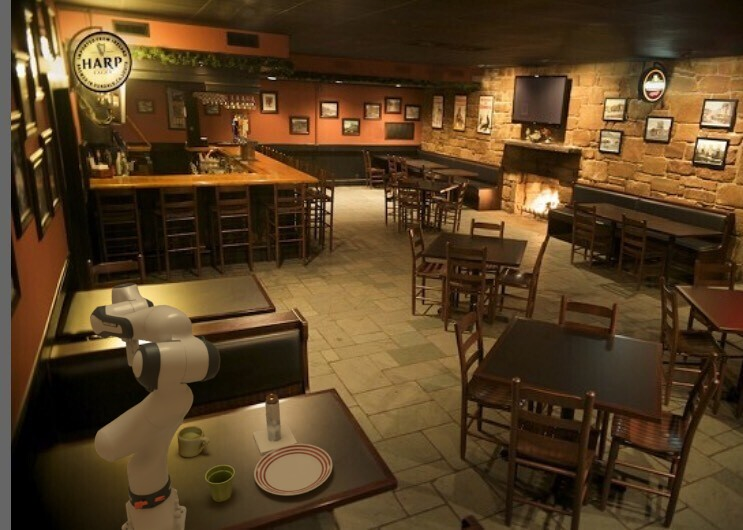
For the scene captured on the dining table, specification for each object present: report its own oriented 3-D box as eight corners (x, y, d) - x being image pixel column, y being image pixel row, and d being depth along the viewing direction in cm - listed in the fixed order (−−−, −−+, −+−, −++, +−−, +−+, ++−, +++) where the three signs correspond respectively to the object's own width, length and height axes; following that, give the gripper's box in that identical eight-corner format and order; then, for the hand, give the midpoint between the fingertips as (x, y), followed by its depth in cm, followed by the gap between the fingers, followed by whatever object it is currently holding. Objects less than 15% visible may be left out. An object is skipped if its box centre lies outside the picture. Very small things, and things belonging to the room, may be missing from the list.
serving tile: (297, 445, 196) (297, 442, 196) (261, 455, 191) (261, 452, 190) (286, 426, 209) (286, 423, 208) (252, 435, 203) (252, 432, 202)
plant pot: (219, 483, 176) (217, 461, 174) (242, 490, 173) (240, 468, 171) (201, 501, 168) (198, 479, 166) (225, 509, 165) (223, 486, 162)
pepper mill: (282, 439, 198) (280, 395, 192) (269, 443, 196) (266, 398, 190) (279, 432, 203) (276, 388, 197) (266, 435, 200) (263, 391, 195)
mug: (167, 451, 190) (174, 426, 189) (188, 444, 199) (195, 420, 198) (189, 467, 185) (197, 442, 184) (210, 459, 194) (217, 435, 193)
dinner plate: (239, 492, 172) (238, 484, 171) (277, 444, 197) (276, 437, 197) (314, 510, 165) (314, 502, 164) (343, 458, 190) (343, 450, 189)
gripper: (141, 339, 164) (147, 377, 168) (139, 317, 182) (144, 352, 186) (120, 342, 162) (126, 381, 166) (120, 320, 179) (125, 355, 183)
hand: (135, 366), depth 176 cm, fingers open, 8 cm apart
